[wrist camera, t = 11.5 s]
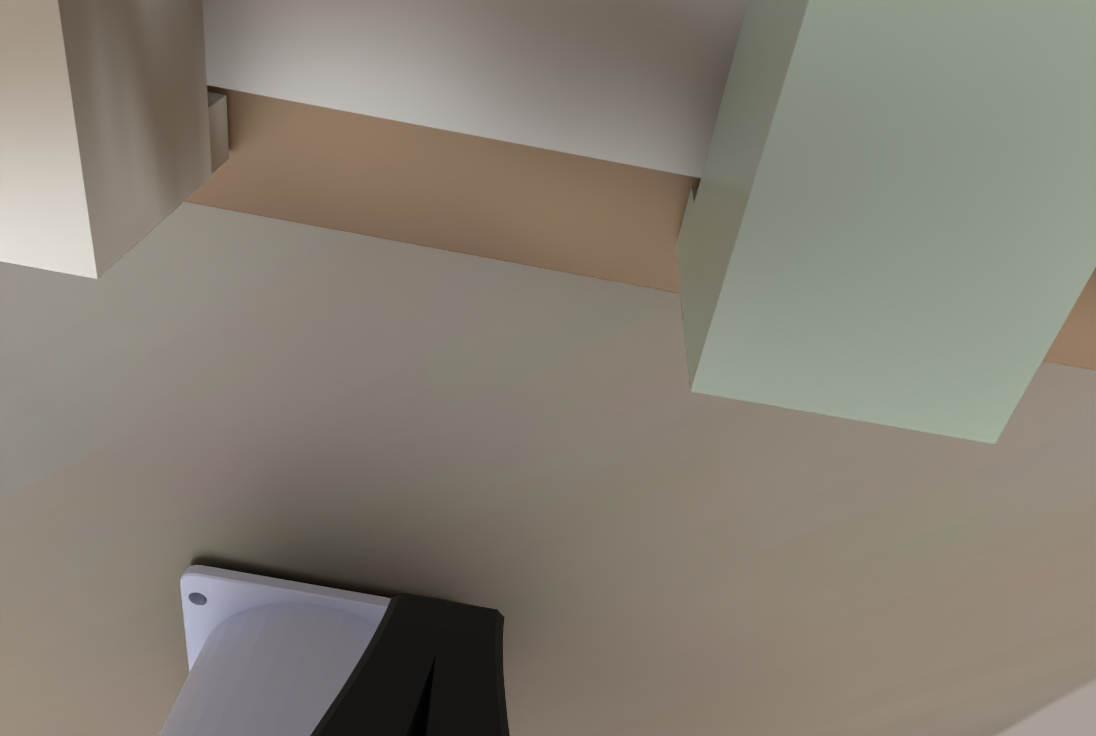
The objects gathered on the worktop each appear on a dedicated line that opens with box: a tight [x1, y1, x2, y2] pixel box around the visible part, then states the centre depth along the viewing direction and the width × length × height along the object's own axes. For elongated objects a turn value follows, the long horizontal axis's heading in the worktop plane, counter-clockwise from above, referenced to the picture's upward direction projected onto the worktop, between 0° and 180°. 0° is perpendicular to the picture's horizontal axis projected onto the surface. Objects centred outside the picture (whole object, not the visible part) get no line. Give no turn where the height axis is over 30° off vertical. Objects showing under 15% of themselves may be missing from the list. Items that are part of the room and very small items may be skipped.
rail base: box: [0, 0, 1096, 370], centre depth 13 cm, size 9×24×6 cm, turn 81°
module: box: [676, 0, 1096, 444], centre depth 12 cm, size 7×4×5 cm, turn 171°
